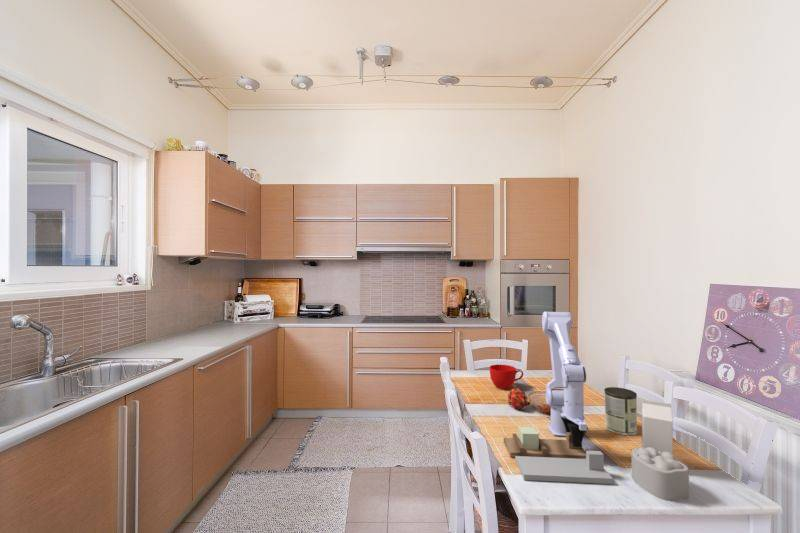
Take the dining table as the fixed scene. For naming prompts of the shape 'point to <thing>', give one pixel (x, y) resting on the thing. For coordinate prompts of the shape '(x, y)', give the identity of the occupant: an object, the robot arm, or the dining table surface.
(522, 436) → the cube
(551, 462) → the slate strip
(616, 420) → the coffee can
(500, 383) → the ceramic cup
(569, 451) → the walnut strip
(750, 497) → the dining table surface
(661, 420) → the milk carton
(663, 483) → the lumpy-topped squat cylinder
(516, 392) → the dragon fruit
